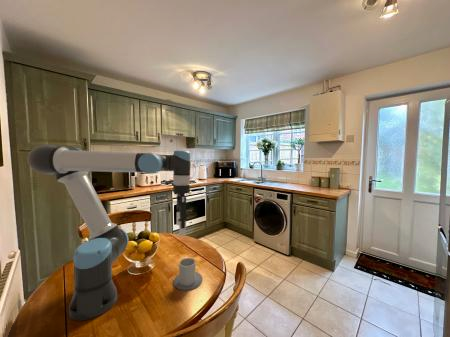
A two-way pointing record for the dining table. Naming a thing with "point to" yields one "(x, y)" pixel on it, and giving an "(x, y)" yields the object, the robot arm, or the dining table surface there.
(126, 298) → the dining table surface
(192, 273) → the cup
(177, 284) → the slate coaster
